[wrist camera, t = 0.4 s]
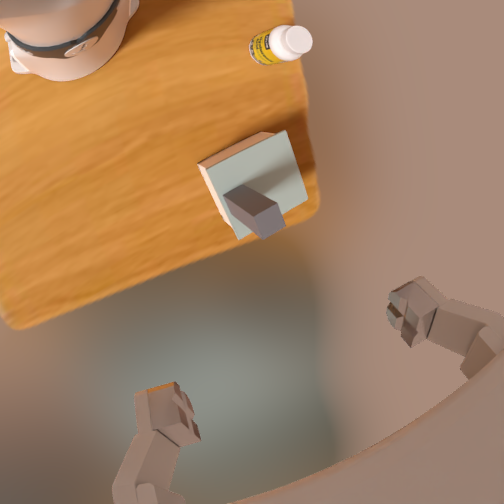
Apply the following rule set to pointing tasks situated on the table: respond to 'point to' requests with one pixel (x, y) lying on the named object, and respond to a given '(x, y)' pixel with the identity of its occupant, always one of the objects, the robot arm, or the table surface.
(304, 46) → the supplement bottle
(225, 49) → the table surface
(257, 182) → the carton lid
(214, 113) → the table surface
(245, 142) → the carton
